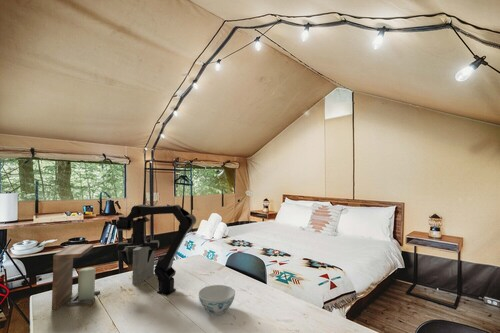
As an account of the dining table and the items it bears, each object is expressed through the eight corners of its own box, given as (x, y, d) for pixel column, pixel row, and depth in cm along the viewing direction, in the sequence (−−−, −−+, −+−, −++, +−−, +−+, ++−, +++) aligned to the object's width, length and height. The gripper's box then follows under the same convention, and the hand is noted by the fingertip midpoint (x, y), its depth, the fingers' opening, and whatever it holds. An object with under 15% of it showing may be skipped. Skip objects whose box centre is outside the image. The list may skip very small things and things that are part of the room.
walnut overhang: (101, 290, 127) (103, 243, 128) (90, 306, 111) (91, 253, 112) (68, 293, 124) (69, 245, 124) (51, 310, 108) (53, 255, 109)
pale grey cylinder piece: (96, 299, 118) (96, 270, 118) (79, 304, 114) (80, 273, 114) (92, 294, 123) (93, 266, 123) (76, 299, 118) (77, 269, 119)
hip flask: (136, 285, 134) (137, 245, 134) (129, 284, 135) (130, 244, 135) (154, 273, 149) (155, 238, 150) (148, 273, 150) (149, 237, 151)
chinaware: (192, 309, 110) (192, 290, 110) (222, 299, 119) (223, 282, 119) (209, 326, 98) (209, 305, 98) (242, 313, 107) (242, 294, 108)
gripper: (160, 226, 139) (159, 256, 138) (121, 228, 134) (121, 259, 134) (158, 231, 128) (157, 263, 127) (116, 233, 123) (115, 266, 123)
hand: (138, 263), depth 128 cm, fingers open, 9 cm apart
